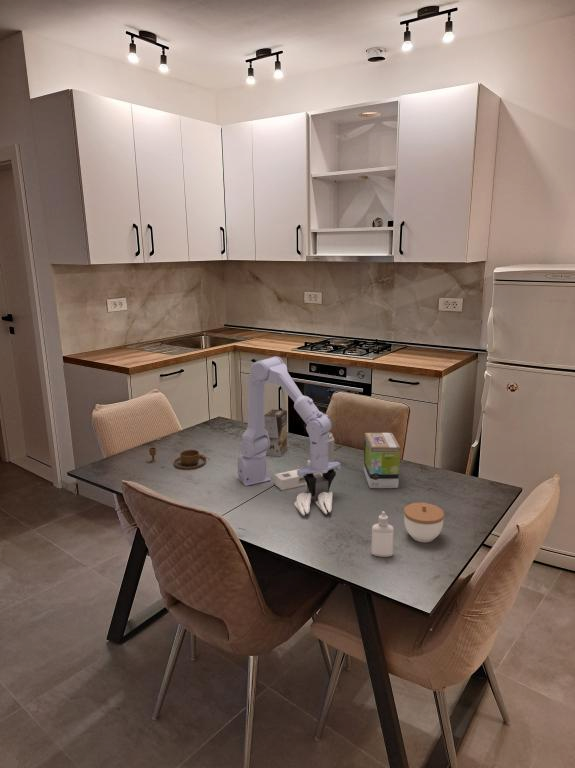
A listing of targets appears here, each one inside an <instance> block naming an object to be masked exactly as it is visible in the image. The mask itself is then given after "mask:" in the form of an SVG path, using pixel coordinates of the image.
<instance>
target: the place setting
mask: <svg viewBox="0 0 575 768" xmlns="http://www.w3.org/2000/svg"><path fill="white" fill-rule="evenodd" d="M148 450H149V455H150V456H151V460H152V463H156V461H155V460H156V458H155V456H156V454H157V448H156V447H153V446H152V447H149V448H148ZM203 456H204V457H203ZM207 458H208V460H210V458H209V457H207V456H205V455H204V454H200V451H198V450H196V449H186V450H183V451H181V452H180V453H179V457H177V458H175V459H174V461H173V464H174V465H173V466H175V468H177V469H179V470H184V471H191V469H192V470H197V469H200V468H203V467H204V466H205V465H206V464H207ZM200 459H201V460H200ZM202 460H203V461H202ZM199 461H202V462H203V463H200V464H198V465H196V463H198V462H199ZM177 462H178V463H179V462H181V463H182V464H184V465H185V466H181V465H178V463H177ZM160 468H162V469H163V468H164V466H160Z"/></svg>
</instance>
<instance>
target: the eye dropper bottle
mask: <svg viewBox="0 0 575 768" xmlns="http://www.w3.org/2000/svg"><path fill="white" fill-rule="evenodd" d="M377 520H378V521H377V522H378V523H375V524H373V525H372V527H371V546H370V548H371V549H370V551H371V552H370V553H371V555H373V556H375V557H381V558H387V557H392V556H393V555H394V538H395V537H394V535H395V533H394V532H395V529H394V526H393V525H391V524H389V517H388V515H386V512H385V511H381V514H379V515H378V519H377Z"/></svg>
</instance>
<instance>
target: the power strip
mask: <svg viewBox="0 0 575 768" xmlns="http://www.w3.org/2000/svg"><path fill="white" fill-rule="evenodd" d="M298 469H299V468H297V469H294V470H292V469H291V470H289V471H283V472H280V473H279V472H278V473H274V485H276V487H277V488H278V489H280V491H285V490H290V489H294V488H298V487H304V486H306V481H305V479H304V477H301V478H300V477H299V476H298V475H297V470H298ZM316 474H320V475H321V476H323V474H322V473H315V474H313V475H316Z"/></svg>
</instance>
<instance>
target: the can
mask: <svg viewBox="0 0 575 768" xmlns="http://www.w3.org/2000/svg"><path fill="white" fill-rule="evenodd" d="M326 433H327V432H326ZM328 462H335V437H334V436H333V433H332V432H330V431H328Z"/></svg>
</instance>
